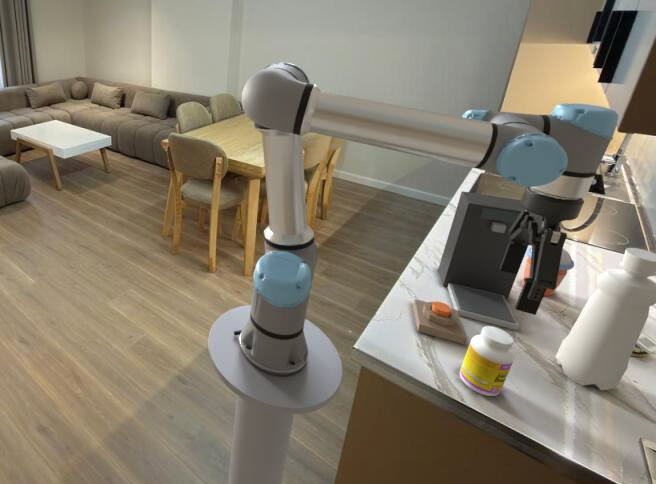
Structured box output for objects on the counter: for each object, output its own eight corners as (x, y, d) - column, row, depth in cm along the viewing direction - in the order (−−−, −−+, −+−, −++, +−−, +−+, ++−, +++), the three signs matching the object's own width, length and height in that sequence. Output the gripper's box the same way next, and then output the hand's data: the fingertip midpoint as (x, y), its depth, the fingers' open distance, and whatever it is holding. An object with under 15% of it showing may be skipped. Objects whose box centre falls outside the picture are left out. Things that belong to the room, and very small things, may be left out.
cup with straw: (530, 276, 114) (552, 221, 107) (568, 296, 105) (595, 238, 99) (506, 281, 112) (527, 226, 105) (544, 302, 103) (570, 244, 97)
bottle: (544, 352, 88) (597, 237, 78) (600, 366, 85) (662, 247, 74) (564, 384, 81) (625, 262, 70) (626, 401, 77) (700, 274, 67)
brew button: (432, 314, 95) (434, 308, 94) (430, 305, 98) (431, 299, 97) (450, 319, 93) (452, 313, 93) (447, 309, 96) (449, 304, 96)
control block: (417, 331, 94) (421, 318, 93) (412, 305, 103) (416, 293, 101) (463, 344, 91) (468, 331, 89) (454, 316, 99) (458, 303, 98)
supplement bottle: (490, 403, 77) (511, 353, 72) (452, 378, 82) (469, 330, 78) (505, 388, 80) (526, 339, 76) (467, 364, 86) (485, 317, 81)
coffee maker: (451, 313, 100) (481, 224, 91) (437, 270, 117) (461, 191, 108) (522, 331, 94) (562, 238, 85) (497, 283, 111) (528, 201, 102)
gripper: (616, 228, 58) (563, 340, 65) (560, 172, 78) (524, 263, 85) (547, 216, 61) (504, 323, 69) (510, 165, 81) (480, 253, 89)
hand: (515, 290), depth 77 cm, fingers open, 13 cm apart
